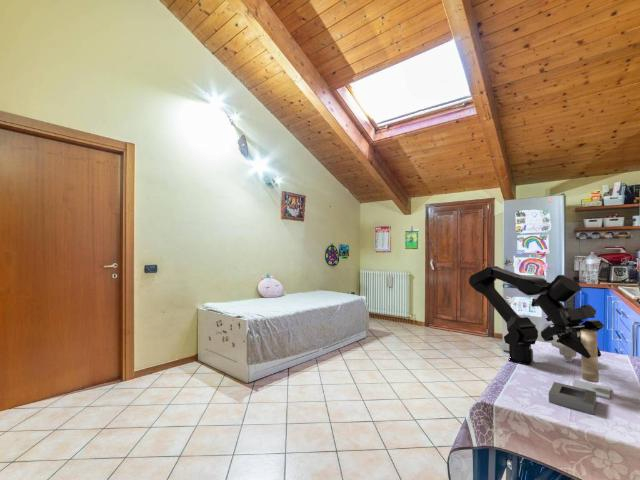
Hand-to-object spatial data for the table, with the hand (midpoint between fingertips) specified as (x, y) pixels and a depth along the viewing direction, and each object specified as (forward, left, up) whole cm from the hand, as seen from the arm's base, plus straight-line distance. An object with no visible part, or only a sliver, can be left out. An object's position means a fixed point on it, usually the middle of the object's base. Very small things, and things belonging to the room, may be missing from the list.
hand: (594, 356), depth 86 cm
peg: (-1, +1, -7) cm, 7 cm away
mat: (-1, +1, -10) cm, 10 cm away
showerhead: (-9, +25, -10) cm, 28 cm away
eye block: (-4, -11, -10) cm, 16 cm away
